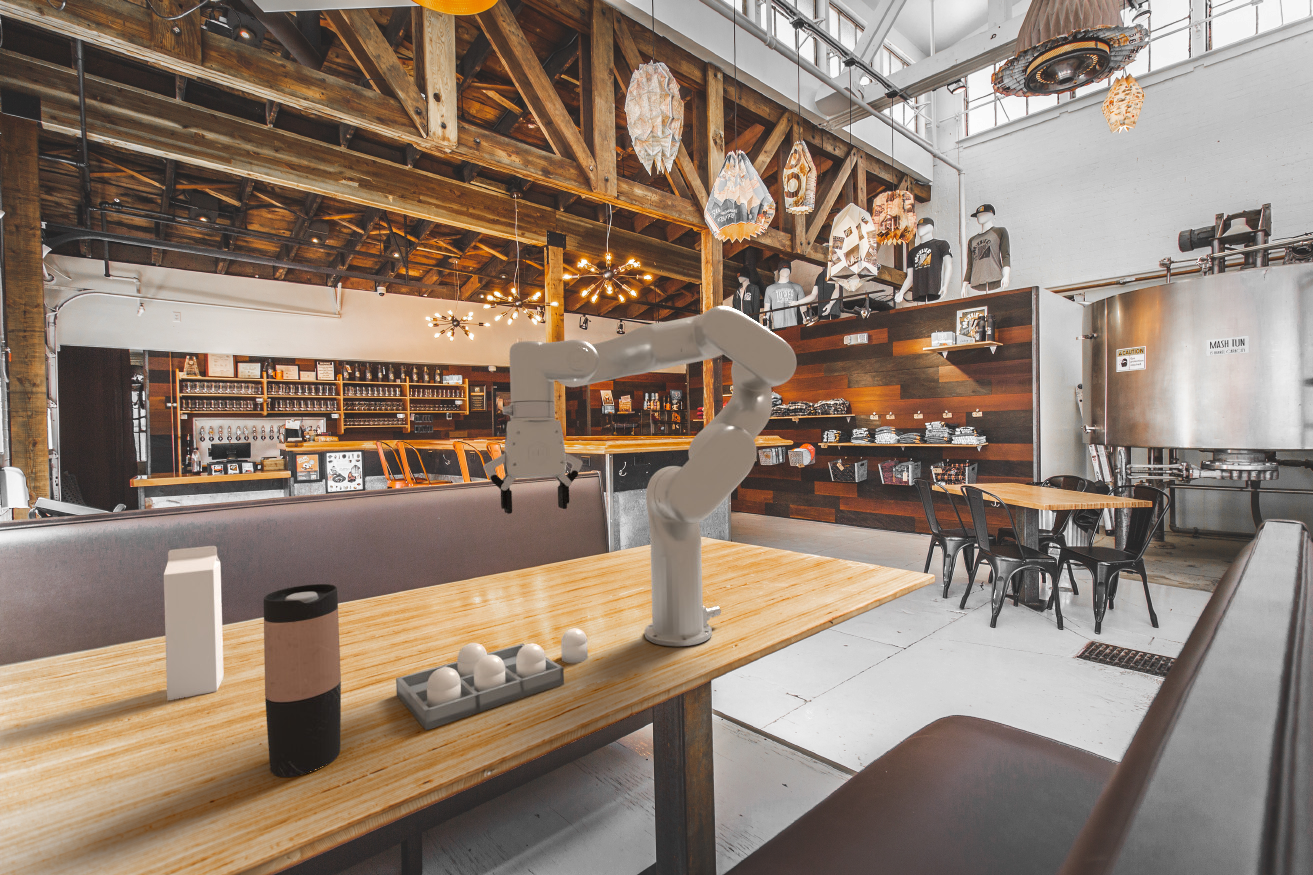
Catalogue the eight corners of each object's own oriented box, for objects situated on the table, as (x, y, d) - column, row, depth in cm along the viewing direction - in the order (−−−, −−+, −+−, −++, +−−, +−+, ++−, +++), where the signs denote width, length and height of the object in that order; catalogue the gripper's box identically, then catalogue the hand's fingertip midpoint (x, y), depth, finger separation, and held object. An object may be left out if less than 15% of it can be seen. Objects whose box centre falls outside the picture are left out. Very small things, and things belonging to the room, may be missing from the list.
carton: (523, 657, 97) (522, 623, 97) (564, 683, 86) (562, 644, 86) (396, 694, 84) (395, 654, 84) (426, 730, 74) (424, 684, 74)
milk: (217, 691, 87) (213, 548, 87) (166, 701, 84) (162, 553, 84) (224, 677, 92) (220, 542, 92) (176, 686, 90) (172, 546, 89)
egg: (579, 651, 100) (578, 622, 100) (592, 658, 96) (591, 628, 96) (557, 657, 97) (556, 628, 97) (570, 665, 94) (569, 635, 94)
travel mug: (290, 744, 71) (285, 585, 71) (354, 740, 72) (349, 582, 72) (252, 781, 63) (247, 602, 63) (323, 776, 64) (318, 599, 64)
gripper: (486, 412, 92) (489, 517, 92) (587, 411, 100) (589, 508, 100) (478, 414, 99) (481, 512, 99) (573, 413, 107) (576, 504, 107)
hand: (536, 510), depth 100 cm, fingers open, 9 cm apart
